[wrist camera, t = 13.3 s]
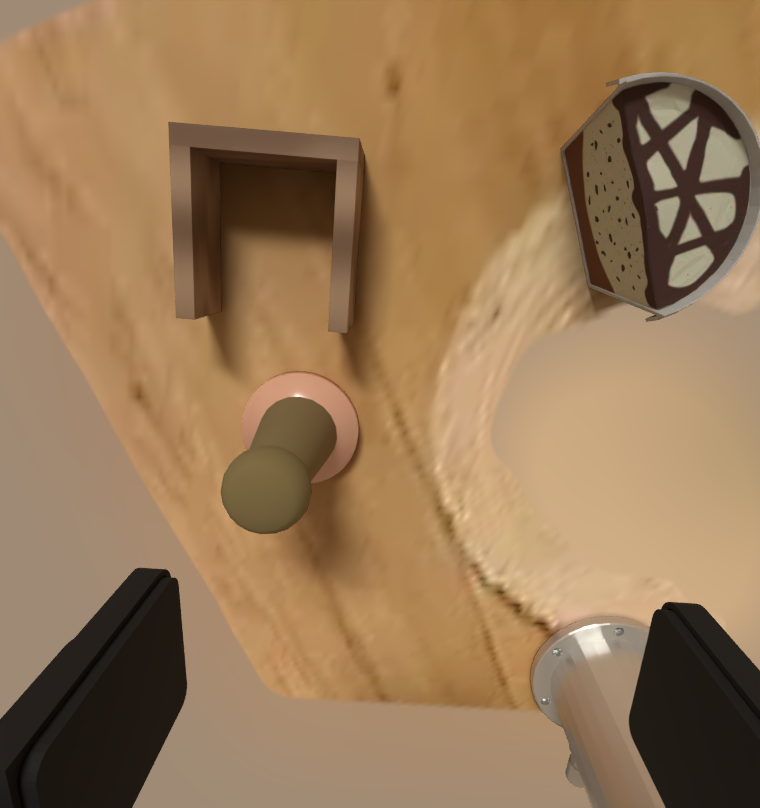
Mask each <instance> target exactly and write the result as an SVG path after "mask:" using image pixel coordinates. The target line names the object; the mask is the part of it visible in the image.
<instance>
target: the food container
mask: <svg viewBox="0 0 760 808" xmlns="http://www.w3.org/2000/svg"><path fill="white" fill-rule="evenodd" d="M615 84H618V87H617V89H616V90H615V91H614V92H613V93H612V94H611V95H610V96H609V97H608V98H607V99H606V100H605V101H604V102H603V104H602V105H601V106H600V107H599V108H598V109H597V110H596V111H595V112H594V113H593V114H592V115H591V116H590V118H589V119H588V120H587V121H586V122H585V123H584V124H583V125H582V126H581V127H580V128H579V129H578V130H577V132H576V133H575V134H574V135H573V136H572V137H571V138H570V139H569V140H568V141H567V142H566V143H565V144H564V146H563V147H562V148H561V153H562V158H563V163H564V168H565V173H566V178H567V183H568V189H569V194H570V199H571V204H572V209H573V214H574V219H575V224H576V229H577V234H578V239H579V244H580V249H581V254H582V259H583V264H584V269H585V274H586V279H587V284H588V287H589V288H592V289H594V290H597V291H599V292H601V293H604V294H606V295H609V296H611V297H614V298H616V299H618V300H621V301H623V302H626V303H628V304H631V305H633V306H635V307H638V308H640V309H643V310H645V311H648V312H650V313H652V314H655V315H654V316H652V317H649V318H646V321H654V320H659V319H662V318H664V317H667V316H669V315H672V314H674V313H676V312H678V311H680V310H682V309H684V308H685V307H687V306H689V305H691V304H693V303H694V302H696V301H697V300H699V299H700V298H701V297H703V296H704V295H706V294H707V293H708V292H710V291H711V290H712V289H713V288H714V287H715V286H716V285H717V284H718V283H720V282H721V281H722V280H723V279H724V278H725V277H726V276H727V274H728V273H729V272H730V271H731V269H732V268H733V267H734V266H735V265H736V263H737V262H738V261H739V259H740V257H741V256H742V254H743V253H744V251H745V249H746V248H747V246H748V244H749V242H750V240H751V238H752V236H753V233H754V231H755V229H756V227H757V224H758V220H759V217H760V142H759V139H758V136H757V134H756V131H755V129H754V127H753V125H752V124H751V122H750V120H749V119H748V117H747V115H746V114H745V112H744V111H743V110H742V109H741V108H740V107H739V106H738V104H737V103H736V102H735V101H734V100H733V99H732V98H730V97H729V96H728V95H727V94H725V93H724V92H723V91H721V90H720V89H719V88H717V87H715V86H713V85H711V84H709V83H706V82H704V81H702V80H699V79H696V78H692V77H689V76H685V75H681V74H675V73H663V72H655V73H645V74H637V75H633V76H629V77H626V78H622V79H618V80H615V81H611V82H608V83H606V86H611V85H615Z"/></svg>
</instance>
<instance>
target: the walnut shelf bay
mask: <svg viewBox="0 0 760 808" xmlns="http://www.w3.org/2000/svg"><path fill="white" fill-rule="evenodd" d="M168 124H169V150H170V176H171V201H172V227H173V253H174V279H175V305H176V318H182V319H194V320H195V319H198V318H201V317H204V316H208V315H211V314H214V313H217V312H220V311H222V306H221V217H220V163H230V164H241V165H253V166H264V167H276V168H287V169H299V170H310V171H322V172H334V173H336V191H335V210H334V229H333V248H332V267H331V286H330V305H329V324H328V332H339V333H347V332H348V331H349V329H350V328H351V326H352V325H353V323H354V309H355V294H356V279H357V265H358V250H359V235H360V221H361V206H362V191H363V176H364V162H365V154H364V151H363V148H362V145H361V142H360V139H359V138H350V137H339V136H327V135H315V134H304V133H292V132H281V131H269V130H257V129H246V128H234V127H222V126H211V125H199V124H187V123H176V122H168Z"/></svg>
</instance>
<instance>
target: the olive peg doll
mask: <svg viewBox="0 0 760 808" xmlns="http://www.w3.org/2000/svg"><path fill="white" fill-rule="evenodd" d="M336 440H337V432H336V426H335V423H334V421H333V419H332V417H331V415H330V414H329V413H328V412H327V410H326V409H325V408H324V407H323V406H321V405H320V404H318V403H316V402H315V401H313V400H311V399H307V398H303V397H287V398H284V399H282V400H279V401H276V402H275V403H274V404H273V405H271V406H270V407H269V408H268V409H267V410H266V412H265V413H264V415H263V417H262V419H261V421H260V423H259V426H258V428H257V431H256V433H255V436H254V439H253V441H252V444H251V446H250V449H249V450H247V451H245V452H243V453H242V454H240V455H239V456H238V457H237V458H236V459H234V460H233V461H232V463H231V464H230V465H229V467H228V469H227V470H226V472H225V474H224V477H223V482H222V487H221V496H222V502H223V505H224V507H225V509H226V511H227V512H228V514H229V516H230V518H231V519H233V520H234V521H235V522H236V523H237V524H238V525H239V526H240V527H242V528H244V529H246V530H248V531H250V532H254V533H259V534H273V533H278V532H281V531H284V530H287V529H288V528H290V527H291V526H292V525H294V524H295V523H296V522H298V521H299V520H300V519H301V517H302V516H303V514H304V513H305V511H306V510H307V508H308V505H309V501H310V497H311V493H312V488H311V481H312V480H313V478H314V477H315V476H316V474H317V473H318V472H319V470H320V469H321V468H322V466H323V465H324V463H325V462H326V461H327V459H328V458H329V456H330V455H331V453H332V452H333V450H334V448H335V444H336Z"/></svg>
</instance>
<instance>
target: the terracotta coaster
mask: <svg viewBox="0 0 760 808" xmlns="http://www.w3.org/2000/svg"><path fill="white" fill-rule="evenodd" d="M287 397H303V398H307V399H311V400H313V401H315V402H316V403H318V404H320V405H321V406H323V407H324V408H325V409H326V410H327V412H328V413H329V414H330V415H331V417H332V419H333V421H334V423H335V426H336V432H337V440H336V444H335V448H334V450H333V452H332V453H331V455H330V456H329V458H328V459H327V461H326V462H325V463H324V465H323V466H322V468H321V469H320V470H319V472H318V473H317V474H316V476H315V477H314V478H313V480H312V481H311V484H313V483H318V482H321V481H324V480H327V479H329V478H331V477H333V476H334V475H336V474H337V473H339V472H340V471H341V470H342V469H343V468H344V467H345V466H346V465H347V463H348V462H349V461H350V459H351V457H352V456H353V453H354V451H355V448H356V445H357V441H358V434H359V422H358V416H357V413H356V410H355V407H354V405H353V403H352V401H351V400H350V398H349V397H348V395H347V394H346V393H345V392H344V391H343V390H342V389H341V388H340V387H339V386H338V385H337V384H336V383H334V382H333V381H331V380H329V379H328V378H326V377H323V376H321V375H318V374H315V373H311V372H305V371H294V372H287V373H283V374H280V375H277V376H275V377H273V378H271V379H269V380H268V381H266V382H265V383H264V384H262V385H261V386H260V387H259V388H258V389H257V390H256V391H255V392H254V393H253V395H252V396H251V397H250V399H249V400H248V402H247V404H246V406H245V409H244V412H243V417H242V435H243V440H244V443H245V446H246V448H247V450H249V449H250V446H251V444H252V441H253V439H254V436H255V433H256V431H257V428H258V426H259V423H260V421H261V419H262V417H263V415H264V413H265V412H266V410H267V409H268V408H269V407H270V406H271V405H273V404H274V403H275V402H276V401H279V400H282V399H284V398H287Z"/></svg>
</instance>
